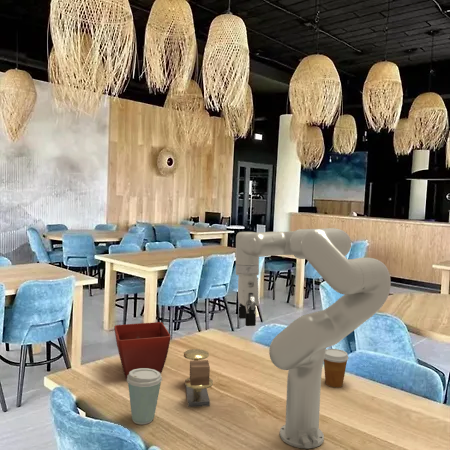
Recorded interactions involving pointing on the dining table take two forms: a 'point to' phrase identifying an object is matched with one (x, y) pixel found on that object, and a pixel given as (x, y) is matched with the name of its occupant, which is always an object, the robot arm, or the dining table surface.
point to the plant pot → (142, 346)
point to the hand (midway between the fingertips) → (246, 321)
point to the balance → (197, 393)
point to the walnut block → (199, 372)
